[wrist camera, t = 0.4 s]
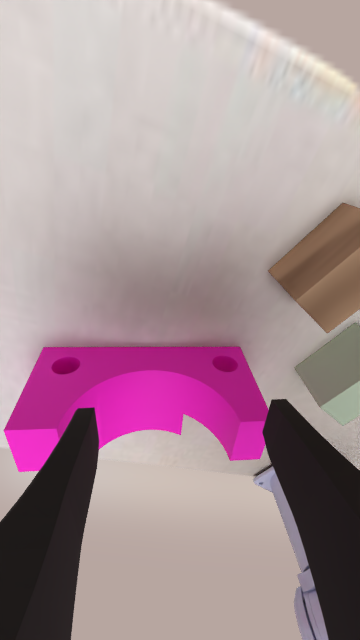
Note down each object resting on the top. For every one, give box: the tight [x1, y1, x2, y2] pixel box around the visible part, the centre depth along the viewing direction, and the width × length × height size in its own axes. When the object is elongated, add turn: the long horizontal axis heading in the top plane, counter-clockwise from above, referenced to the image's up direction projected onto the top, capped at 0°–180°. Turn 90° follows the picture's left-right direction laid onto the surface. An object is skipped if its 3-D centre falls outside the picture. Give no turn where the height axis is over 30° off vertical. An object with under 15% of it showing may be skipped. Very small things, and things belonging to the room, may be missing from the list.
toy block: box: [4, 347, 269, 472], centre depth 21 cm, size 15×6×8 cm, turn 86°
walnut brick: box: [269, 203, 360, 333], centre depth 18 cm, size 4×6×4 cm, turn 137°
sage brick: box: [295, 323, 360, 426], centre depth 23 cm, size 4×6×4 cm, turn 137°
